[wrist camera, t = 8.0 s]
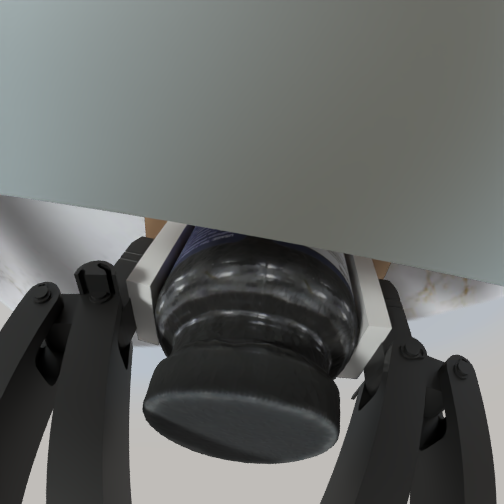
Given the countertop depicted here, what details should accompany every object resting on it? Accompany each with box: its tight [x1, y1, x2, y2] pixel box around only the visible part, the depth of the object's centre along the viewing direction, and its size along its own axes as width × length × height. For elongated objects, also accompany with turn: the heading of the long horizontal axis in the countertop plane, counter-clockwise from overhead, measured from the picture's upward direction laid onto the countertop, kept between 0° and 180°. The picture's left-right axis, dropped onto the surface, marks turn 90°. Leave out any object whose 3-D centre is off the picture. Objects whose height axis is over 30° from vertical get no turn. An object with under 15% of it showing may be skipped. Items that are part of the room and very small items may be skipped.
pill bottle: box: [143, 226, 358, 464], centre depth 10 cm, size 6×6×11 cm
